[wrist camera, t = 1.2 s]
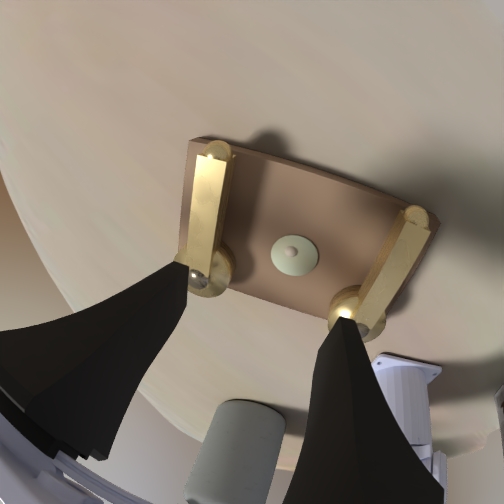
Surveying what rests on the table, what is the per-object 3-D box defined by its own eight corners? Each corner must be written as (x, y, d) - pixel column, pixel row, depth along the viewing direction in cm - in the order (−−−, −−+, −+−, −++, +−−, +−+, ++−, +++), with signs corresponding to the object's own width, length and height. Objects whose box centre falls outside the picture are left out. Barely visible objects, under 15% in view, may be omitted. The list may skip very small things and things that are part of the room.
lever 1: (231, 289, 21) (220, 310, 19) (182, 272, 21) (168, 290, 19) (263, 144, 15) (253, 152, 13) (197, 129, 15) (178, 135, 13)
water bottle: (212, 414, 37) (148, 563, 14) (219, 388, 32) (137, 577, 9) (275, 433, 36) (225, 586, 13) (297, 411, 31) (237, 605, 8)
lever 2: (368, 332, 20) (369, 355, 18) (320, 318, 20) (318, 341, 18) (440, 209, 14) (454, 226, 12) (383, 184, 14) (392, 198, 12)
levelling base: (372, 322, 21) (373, 337, 19) (183, 261, 22) (174, 273, 21) (435, 215, 15) (443, 226, 14) (197, 137, 17) (185, 142, 15)
